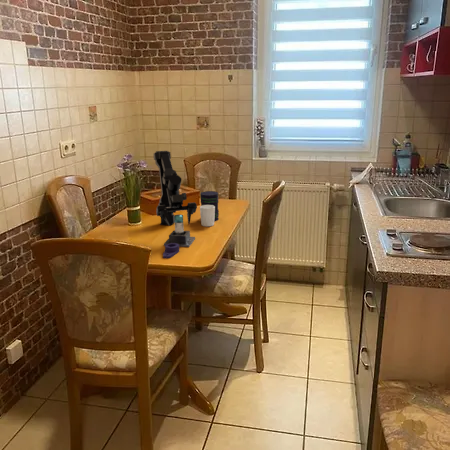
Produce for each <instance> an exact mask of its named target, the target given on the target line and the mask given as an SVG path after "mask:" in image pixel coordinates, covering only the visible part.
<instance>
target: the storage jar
mask: <svg viewBox="0 0 450 450" xmlns="http://www.w3.org/2000/svg"><path fill="white" fill-rule="evenodd" d="M202 205H214V206H215V219H214V223H215V222H217V221H219V215H220V214H219V212H220V211H219V192H218V191H212V190H207V191H205V190H204V191H201V192H200V206H202Z"/></svg>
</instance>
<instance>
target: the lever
mask: <svg viewBox="0 0 450 450" xmlns="http://www.w3.org/2000/svg"><path fill="white" fill-rule="evenodd" d="M178 253H180V247H179V244H177V243H169V244H166V245H165V246H164V252H163V254H162V258H163V259H165V260H166V259H168V260H169V259H172V258H173V257H174V256H176V255H177V254H178Z"/></svg>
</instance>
